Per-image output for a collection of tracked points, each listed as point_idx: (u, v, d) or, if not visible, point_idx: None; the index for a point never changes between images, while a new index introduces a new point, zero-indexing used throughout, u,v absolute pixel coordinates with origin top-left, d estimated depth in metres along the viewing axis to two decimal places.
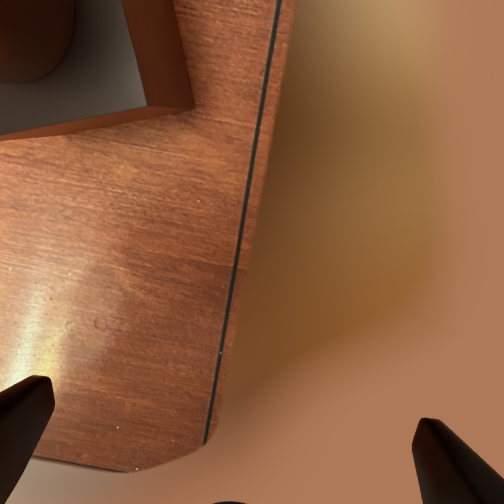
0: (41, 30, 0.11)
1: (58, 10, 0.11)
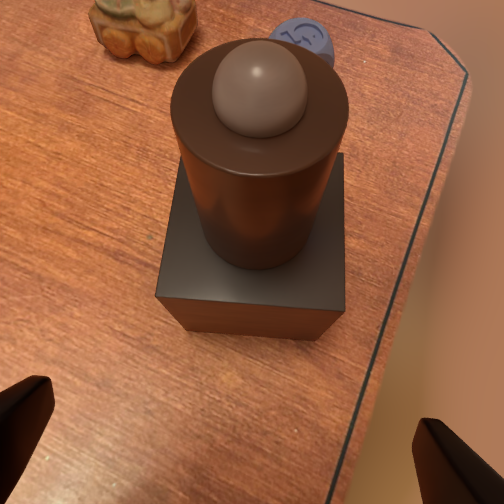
0: (303, 237, 0.15)
1: (310, 231, 0.16)
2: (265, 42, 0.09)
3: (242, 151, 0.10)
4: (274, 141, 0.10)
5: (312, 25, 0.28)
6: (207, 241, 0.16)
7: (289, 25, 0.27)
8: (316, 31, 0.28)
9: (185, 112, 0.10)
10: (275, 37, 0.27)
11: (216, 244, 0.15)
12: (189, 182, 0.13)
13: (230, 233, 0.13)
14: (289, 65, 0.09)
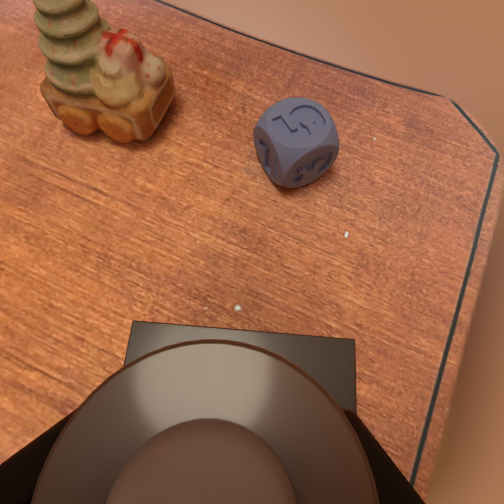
0: None
1: None
2: (202, 497, 0.04)
3: None
4: None
5: (312, 107, 0.22)
6: None
7: (283, 108, 0.22)
8: (317, 114, 0.22)
9: None
10: (266, 124, 0.22)
11: None
12: None
13: None
14: None
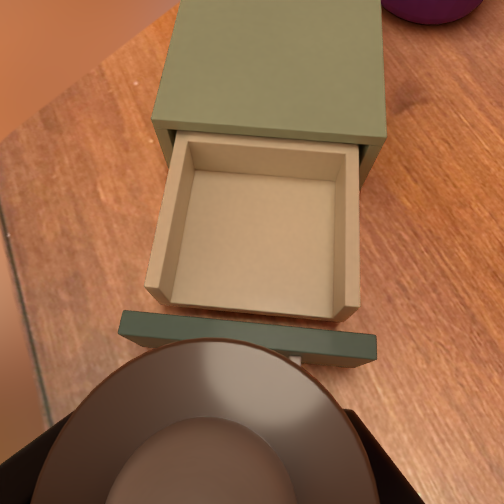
0: None
1: None
2: (203, 494, 0.04)
3: None
4: None
5: None
6: None
7: None
8: None
9: None
10: None
11: None
12: None
13: None
14: None
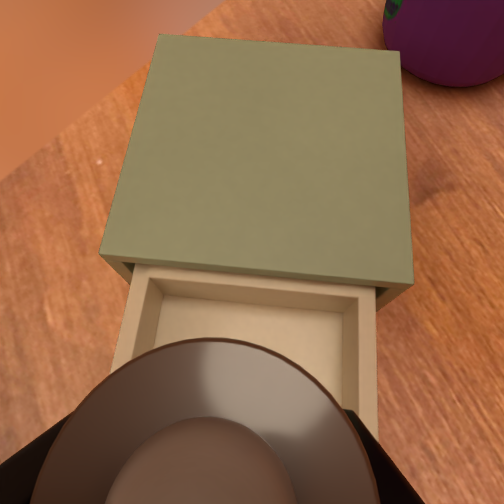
0: None
1: None
2: (203, 495, 0.04)
3: None
4: None
5: None
6: None
7: None
8: None
9: None
10: None
11: None
12: None
13: None
14: None
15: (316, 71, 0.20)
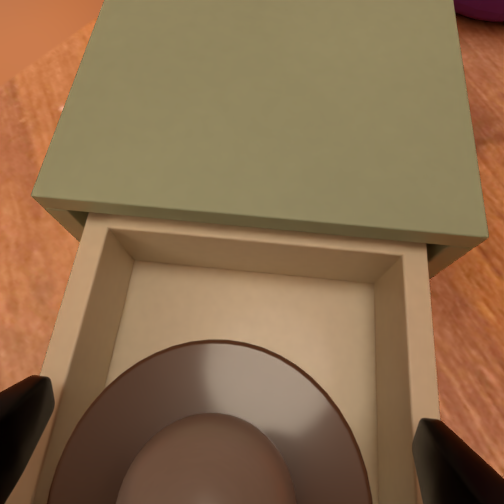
0: None
1: None
2: (209, 481, 0.05)
3: None
4: None
5: None
6: None
7: None
8: None
9: None
10: None
11: None
12: None
13: None
14: None
15: None
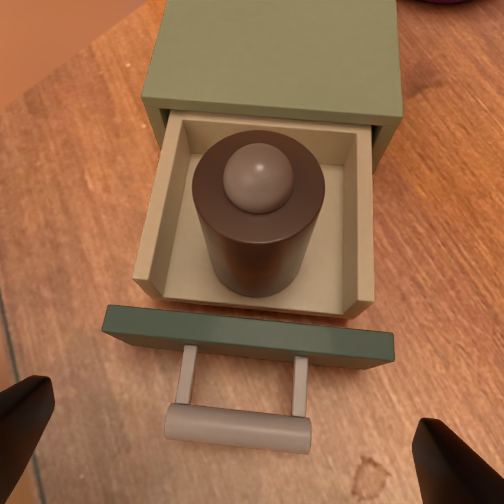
0: (293, 273, 0.18)
1: None
2: (262, 147, 0.13)
3: (245, 224, 0.13)
4: (269, 216, 0.13)
5: None
6: None
7: None
8: None
9: (203, 192, 0.14)
10: None
11: (223, 278, 0.19)
12: None
13: (235, 274, 0.17)
14: (279, 165, 0.13)
15: None
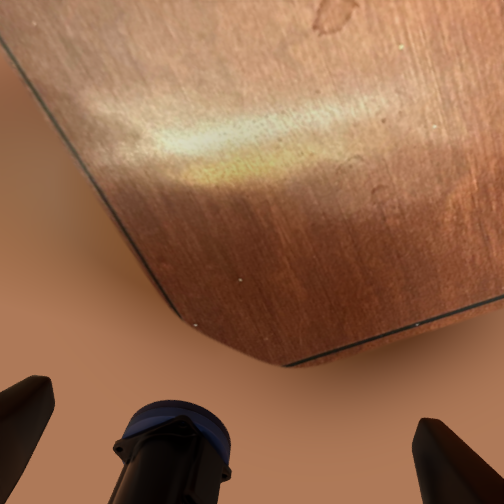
0: None
1: None
2: None
3: None
4: None
5: None
6: None
7: None
8: None
9: None
10: None
11: None
12: None
13: None
14: None
15: None
